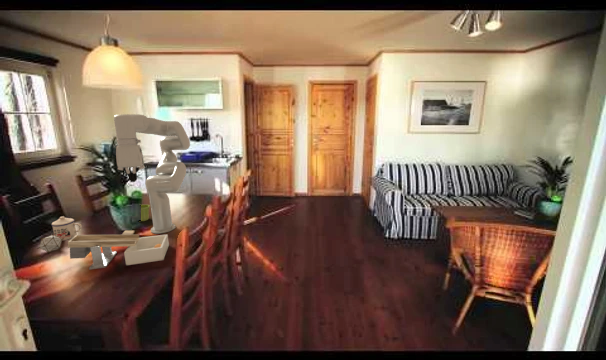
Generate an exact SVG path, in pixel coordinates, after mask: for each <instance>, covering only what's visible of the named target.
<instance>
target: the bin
mask: <svg viewBox="0 0 606 360" xmlns="http://www.w3.org/2000/svg"><path fill="white" fill-rule="evenodd" d="M168 234H169V233H168ZM168 234H160V235H151V236H150V235H149V236H142V237H139V240H138V242H137V243H136V245H135V246H127V248H126V249H125V250H124V252H123V253H124V260H125V266H131V265H138V264H145V263H151V262H153V263H154V262H158V261H164V260H165V257H166V254H167V251H168V249H169V247H170V243H169V235H168ZM157 244H161V247H158V248H154V247H155V245H157Z"/></svg>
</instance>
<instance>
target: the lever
mask: <svg viewBox="0 0 606 360" xmlns="http://www.w3.org/2000/svg"><path fill="white" fill-rule="evenodd" d="M134 233H135V229H134V230H132V229H131V230H129V229H128V230H126V229H125V230H124V231H123V232H122V234H77V235H76V236H75V237H73V238H71V239H69V240H68V242H67V248H69V259H85V258H87V256H89V254H90V253H91V249H90V248H91V246H98V245H100V247H101V248H102V247H111V248H113V247H114V248H115V247H121V248H123V247H128V246H135V245H136V243H137V242H138V240H139V238H140V234H134Z"/></svg>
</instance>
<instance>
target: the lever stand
mask: <svg viewBox="0 0 606 360" xmlns="http://www.w3.org/2000/svg"><path fill="white" fill-rule="evenodd" d="M90 249H91V252H90V253H91V258H92V264H91V265H90V266H89V267H88V269H89V270H90V271H91V270H96V269H105V268H107V267H108V265H109V264H110V263H111V261H112V260H113V258H114V257H115V256H116V255H117V251H116V250H115V251H113V250H112V247H100V245H98V246H91V248H90Z"/></svg>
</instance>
